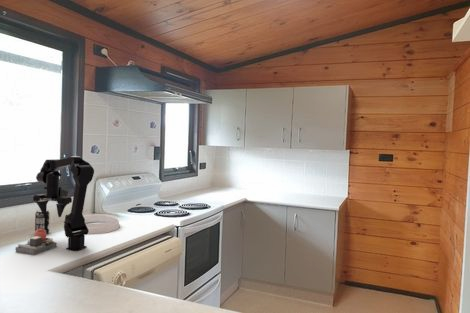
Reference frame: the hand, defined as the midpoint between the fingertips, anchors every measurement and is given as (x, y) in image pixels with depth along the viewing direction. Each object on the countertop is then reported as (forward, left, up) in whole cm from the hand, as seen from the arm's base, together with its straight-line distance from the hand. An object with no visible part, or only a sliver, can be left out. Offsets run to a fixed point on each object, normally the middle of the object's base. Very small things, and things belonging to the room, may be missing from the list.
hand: (52, 216), depth 178 cm
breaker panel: (-5, +14, -12) cm, 19 cm away
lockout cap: (-4, +11, -10) cm, 15 cm away
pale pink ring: (-2, -29, -13) cm, 32 cm away
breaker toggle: (-8, +17, -10) cm, 21 cm away
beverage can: (+14, -8, -12) cm, 20 cm away
